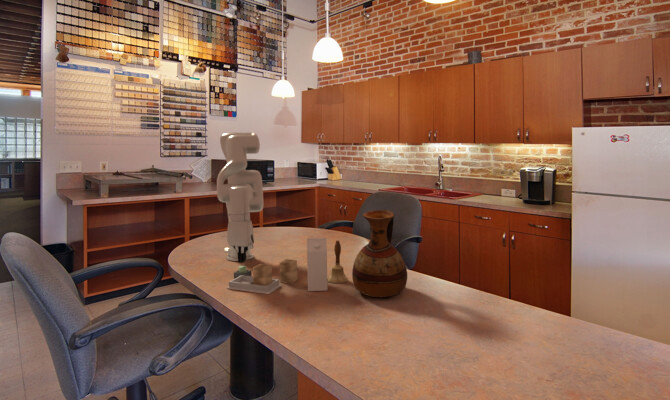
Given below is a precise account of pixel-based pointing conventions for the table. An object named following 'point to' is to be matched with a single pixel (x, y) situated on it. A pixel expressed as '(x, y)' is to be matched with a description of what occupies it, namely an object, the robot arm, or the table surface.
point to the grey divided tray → (252, 285)
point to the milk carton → (317, 264)
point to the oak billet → (288, 271)
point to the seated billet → (262, 274)
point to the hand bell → (337, 268)
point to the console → (247, 273)
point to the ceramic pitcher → (379, 259)
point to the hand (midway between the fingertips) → (242, 261)
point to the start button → (242, 269)
